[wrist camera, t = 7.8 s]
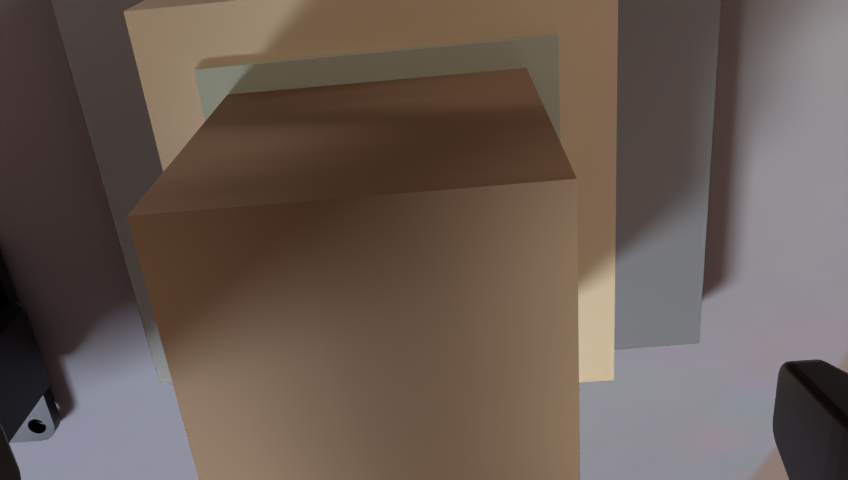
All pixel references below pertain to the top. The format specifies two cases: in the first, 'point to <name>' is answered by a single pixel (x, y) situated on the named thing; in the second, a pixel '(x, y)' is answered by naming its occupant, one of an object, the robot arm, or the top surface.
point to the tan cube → (371, 283)
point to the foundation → (435, 56)
